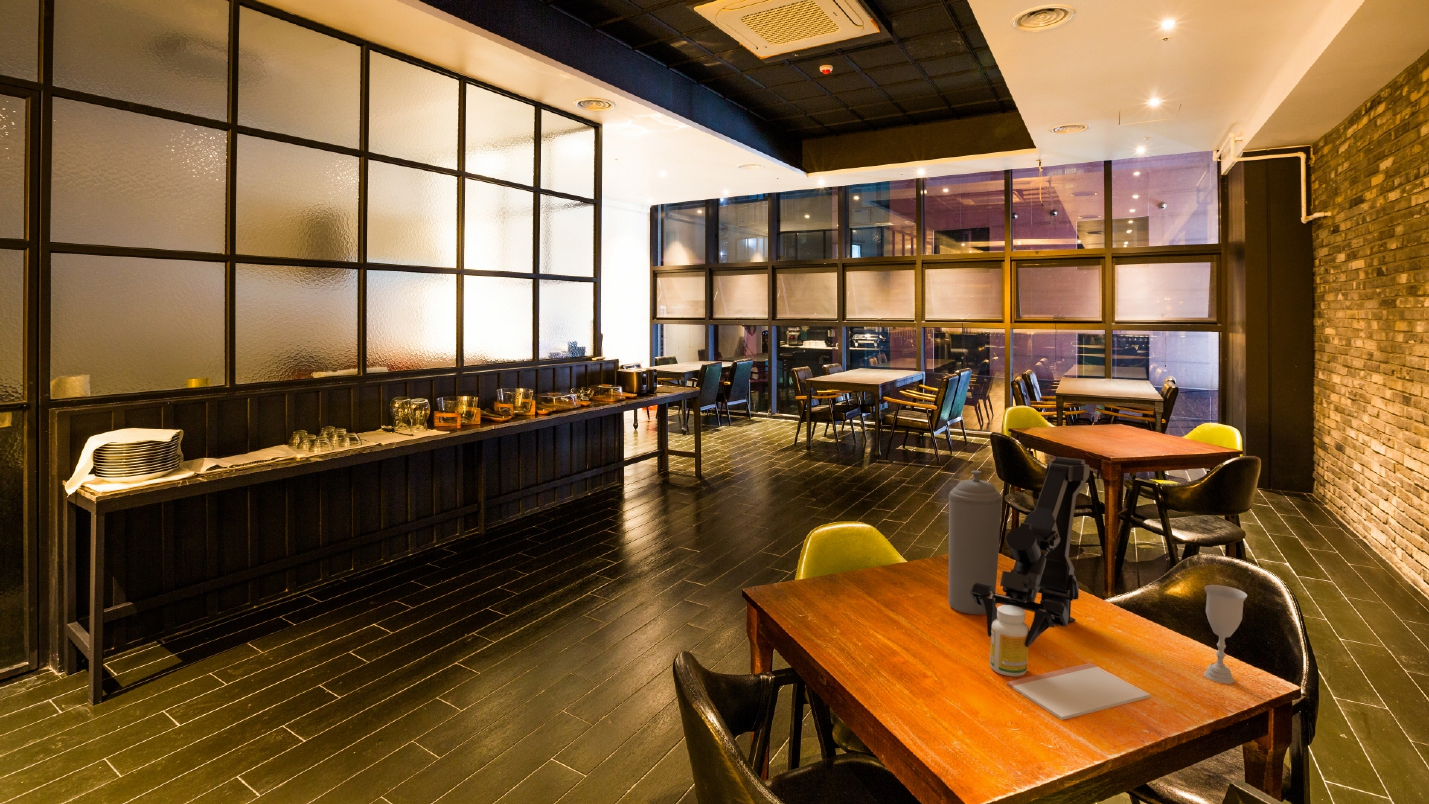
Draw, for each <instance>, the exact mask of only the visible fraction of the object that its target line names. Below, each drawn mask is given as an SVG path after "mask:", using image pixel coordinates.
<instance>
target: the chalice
mask: <svg viewBox="0 0 1429 804" xmlns="http://www.w3.org/2000/svg"><path fill="white" fill-rule="evenodd" d="M1204 591H1205V592H1206V603H1205V604H1206V605H1205V614H1206V616H1207V620H1208V623H1209V625H1210V627H1211V630H1212V632H1213V633H1214V634H1215V635H1216V636H1218V642H1217V643H1216V646H1217V648H1218V650H1217V652H1215V655H1216V656H1217V660H1216V662H1215V663H1211V664H1209V665H1208V667H1207V668H1206V671H1204V673H1203V676H1204V677H1206V678H1207V679H1208V680H1210V681H1213V682H1216V683H1220V684H1226V685H1227V684H1228V685H1230V684H1233V683H1235V679H1234V678H1233V674H1232V671H1231V670H1230V668H1229V667H1228V666H1226V665H1225V664H1224V659H1225V657H1227V655H1226V654H1225V649H1226V647H1227V645H1226V641H1225V640H1226V638H1230V637H1232V635H1233V634H1234V633H1235V632H1236V631H1237V630H1238V628H1239V626H1240V624H1241V622H1242V620H1243V611H1244V610H1243V609H1244V601H1245V600H1246V599H1247V597H1248V594H1247V593H1246V592H1244V591H1243V590H1240V589H1238V588H1236V587H1231V586H1226V585H1220V584H1209V585H1208V584H1207V585H1205V586H1204Z"/></svg>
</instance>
